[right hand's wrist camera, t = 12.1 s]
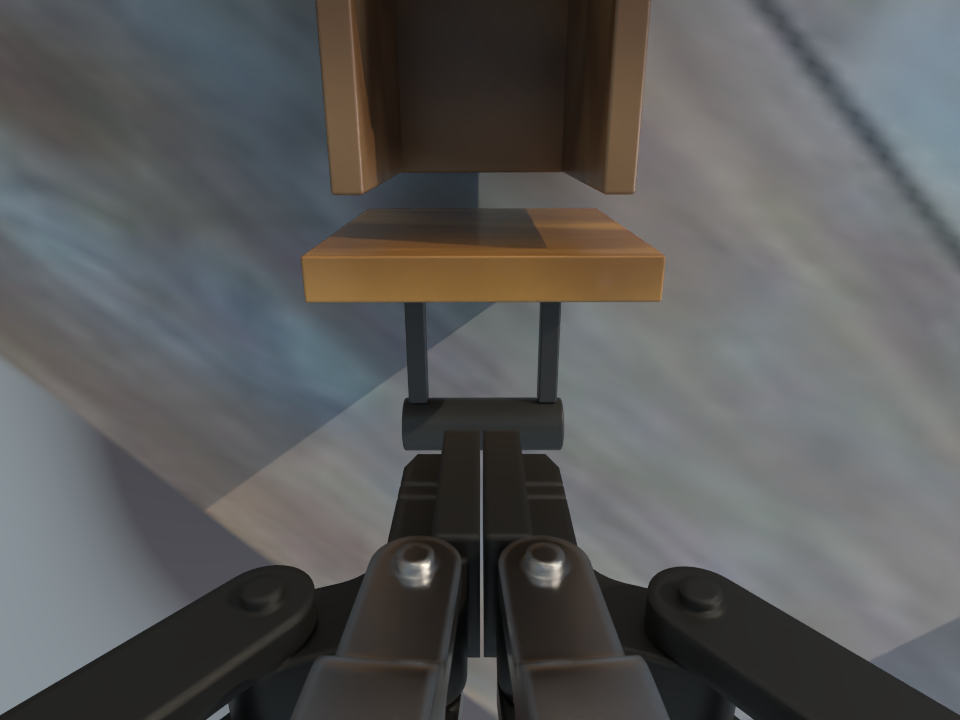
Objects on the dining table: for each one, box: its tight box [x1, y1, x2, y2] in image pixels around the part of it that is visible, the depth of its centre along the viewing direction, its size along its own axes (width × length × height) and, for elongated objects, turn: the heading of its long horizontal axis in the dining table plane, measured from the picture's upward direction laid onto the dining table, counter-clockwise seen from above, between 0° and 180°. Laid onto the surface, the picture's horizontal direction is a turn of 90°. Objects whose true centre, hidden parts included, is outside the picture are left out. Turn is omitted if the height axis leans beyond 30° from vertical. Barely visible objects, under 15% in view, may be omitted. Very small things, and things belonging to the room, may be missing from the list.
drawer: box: [301, 0, 666, 450], centre depth 18 cm, size 26×9×10 cm, turn 0°
